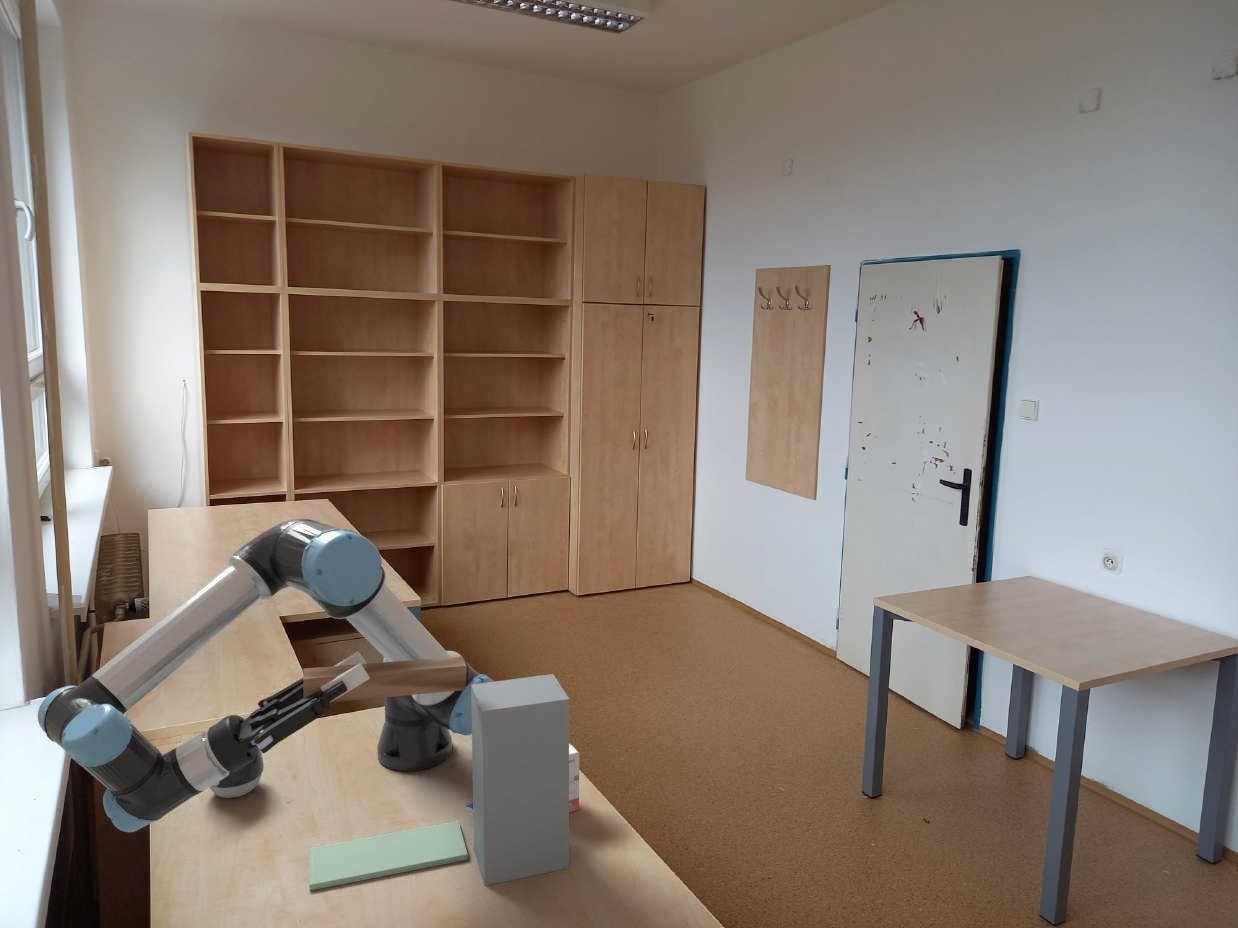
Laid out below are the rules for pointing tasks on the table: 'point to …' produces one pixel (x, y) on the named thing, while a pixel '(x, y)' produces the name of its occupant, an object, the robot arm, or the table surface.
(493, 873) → the stand
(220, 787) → the pump dispenser
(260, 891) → the table surface
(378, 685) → the walnut bar
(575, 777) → the ink box
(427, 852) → the mat
